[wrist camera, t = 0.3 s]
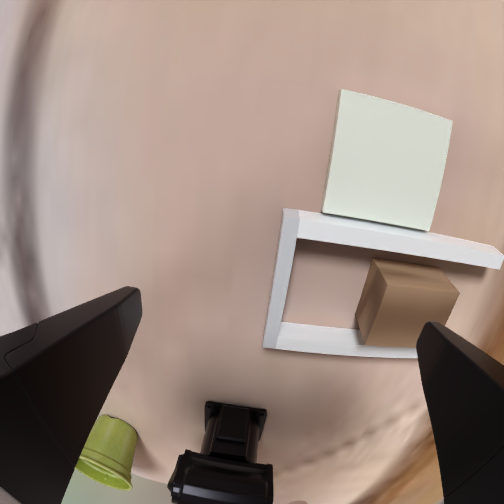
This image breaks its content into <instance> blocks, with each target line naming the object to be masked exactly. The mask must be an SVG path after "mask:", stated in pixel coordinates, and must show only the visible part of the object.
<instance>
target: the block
mask: <svg viewBox="0 0 504 504" xmlns="http://www.w3.org/2000/svg"><path fill="white" fill-rule="evenodd" d="M459 294H460V293H459V291H458V290H457V289H456V288H455V286H454V285H453V284H452V283H451V282H450V280H449V279H448V278H447V277H446V276H445V274H444V273H443V272H442V271H441V270H440V269H439V268H438V267H431V266H425V265H418V264H411V263H405V262H398V261H391V260H384V259H377V258H372V262H371V265H370V269H369V272H368V275H367V279H366V282H365V285H364V288H363V291H362V295H361V298H360V301H359V304H358V307H357V310H356V313H355V315H356V318H357V322H358V325H359V328H360V331H361V335H362V338H363V342H364V345H367V346H385V347H409V348H416V343H417V340H418V338H419V335H420V333H421V331H422V329H423V326H424V324H425V323H426V322H428V321H436V322H439V323H441V324H442V325H444V326H445V324H446V322H447V320H448V318H449V316H450V314H451V311H452V309H453V307H454V305H455V303H456V300H457V298H458V296H459Z"/></svg>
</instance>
